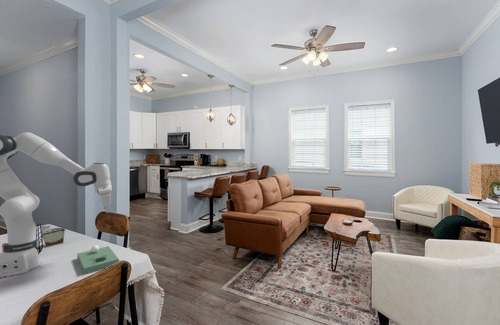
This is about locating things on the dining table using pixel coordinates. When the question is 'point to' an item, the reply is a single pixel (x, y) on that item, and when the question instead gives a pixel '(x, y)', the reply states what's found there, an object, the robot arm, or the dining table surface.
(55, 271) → the dining table surface
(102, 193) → the robot arm
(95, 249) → the ball
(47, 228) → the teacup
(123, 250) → the dining table surface
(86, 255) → the putting board
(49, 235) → the food container
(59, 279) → the dining table surface
